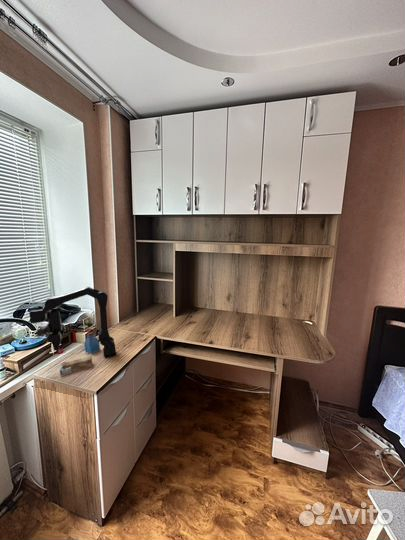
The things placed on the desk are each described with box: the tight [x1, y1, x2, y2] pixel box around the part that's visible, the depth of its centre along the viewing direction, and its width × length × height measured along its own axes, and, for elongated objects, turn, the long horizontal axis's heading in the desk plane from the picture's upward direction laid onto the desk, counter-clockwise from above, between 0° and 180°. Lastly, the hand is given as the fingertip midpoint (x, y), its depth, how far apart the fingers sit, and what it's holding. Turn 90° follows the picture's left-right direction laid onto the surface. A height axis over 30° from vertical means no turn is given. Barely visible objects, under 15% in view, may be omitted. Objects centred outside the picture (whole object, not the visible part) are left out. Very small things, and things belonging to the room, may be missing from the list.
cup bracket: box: [59, 363, 73, 376], centre depth 122 cm, size 5×8×3 cm, turn 25°
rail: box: [61, 355, 93, 372], centre depth 125 cm, size 14×4×4 cm, turn 115°
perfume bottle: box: [83, 331, 101, 355], centre depth 144 cm, size 6×6×12 cm
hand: (58, 346), depth 126 cm, fingers open, 9 cm apart
